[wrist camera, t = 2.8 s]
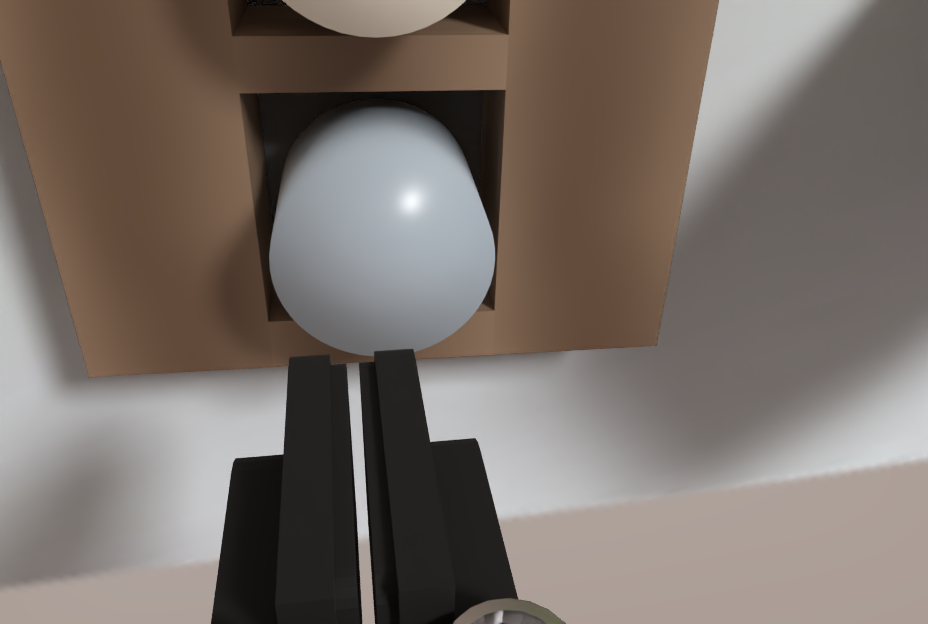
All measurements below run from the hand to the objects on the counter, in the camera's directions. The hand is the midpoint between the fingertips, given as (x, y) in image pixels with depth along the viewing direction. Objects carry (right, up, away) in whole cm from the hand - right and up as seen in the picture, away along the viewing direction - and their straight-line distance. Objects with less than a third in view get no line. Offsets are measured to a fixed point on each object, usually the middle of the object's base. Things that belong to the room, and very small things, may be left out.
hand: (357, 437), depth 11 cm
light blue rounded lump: (-1, +5, +7) cm, 9 cm away
